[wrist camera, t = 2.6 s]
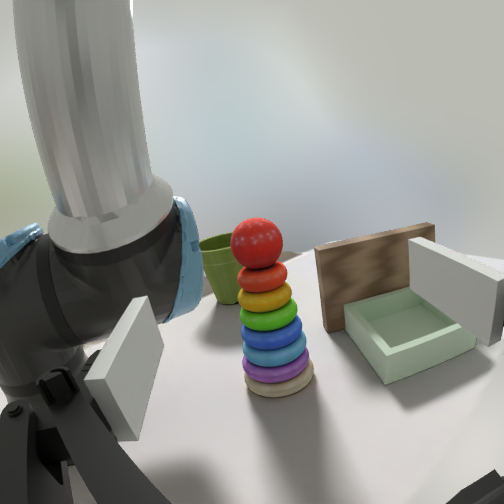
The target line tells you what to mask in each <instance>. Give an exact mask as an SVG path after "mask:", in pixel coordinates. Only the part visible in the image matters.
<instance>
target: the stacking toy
mask: <svg viewBox="0 0 504 504" xmlns="http://www.w3.org/2000/svg"><path fill="white" fill-rule="evenodd" d="M230 244H231V251H232V253H233V256H234V257H235V259H236V260H237V261H238V262H239V263H240V264H241V265H242V266H244V268H242V269H241V270H240V272H239V273H238V276H237V280H238V284H239V285H240V287H241V288H242V289H241V290H240V292H239V294H238V302H239V304H240V305H241V307H242V308H241V311H240V318H241V321H242V323H243V326H242V329H241V334H242V338H243V340H244V343H243V352H244V357H243V361H242V364H243V368H244V371H245V374H244V378H245V382H246V385H247V386H248V388H249V389H250V390H251V391H253V392H254V393H256V394H258V395H261V396H266V397H282V396H287V395H290V394H293V393H295V392H297V391H299V390H301V389H302V388H304V387H305V386H306V385H307V384H308V383H309V381H310V380H311V378H312V375H313V370H314V368H313V363H312V361H311V360H310V358H309V352H308V349H307V347H306V336H305V334H304V332H303V331H302V322H301V319H300V318H299V316H297V315H296V314H297V304H296V302H295V301H294V300H293V299H292V298H291V295H292V290H291V287H290V286H289V284H288V283H286V282H285V280H286V278H287V269H286V267H285V266H284V265H283V264H282V263H280V262H278V261H277V259H278V258H279V256H280V254H281V251H282V247H283V240H282V235H281V233H280V231H279V229H278V228H277V226H276V225H275V224H273V223H272V222H270V221H269V220H266V219H263V218H251V219H247V220H245V221H243V222H242V223H240V224H239V225H238V226H237V227H236V228H235V230H234V231H233V234H232V236H231V243H230Z"/></svg>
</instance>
